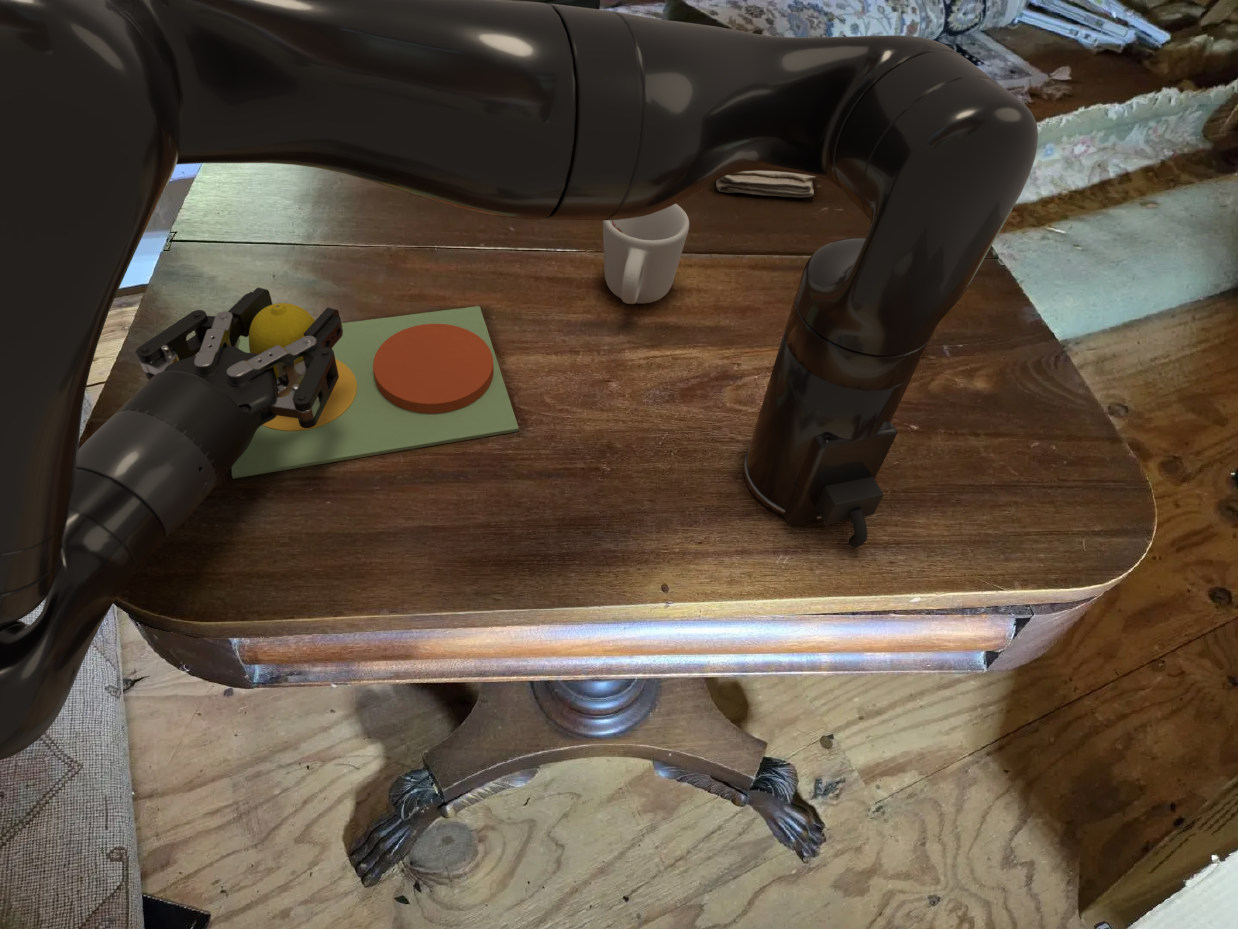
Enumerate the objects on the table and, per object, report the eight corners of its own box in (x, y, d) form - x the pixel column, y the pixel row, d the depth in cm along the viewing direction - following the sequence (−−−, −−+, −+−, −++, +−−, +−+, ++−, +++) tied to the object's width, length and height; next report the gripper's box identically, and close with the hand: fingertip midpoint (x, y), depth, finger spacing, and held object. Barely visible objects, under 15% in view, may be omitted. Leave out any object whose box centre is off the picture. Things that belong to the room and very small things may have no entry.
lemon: (341, 396, 69) (325, 319, 63) (271, 416, 67) (247, 337, 61) (321, 354, 72) (304, 276, 66) (254, 372, 70) (229, 293, 64)
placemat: (518, 431, 70) (518, 418, 69) (232, 478, 64) (227, 465, 63) (479, 309, 80) (479, 295, 78) (228, 340, 74) (223, 326, 73)
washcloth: (715, 196, 96) (719, 171, 93) (703, 118, 108) (707, 94, 105) (818, 204, 97) (826, 179, 94) (796, 125, 108) (802, 101, 106)
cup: (665, 339, 79) (677, 268, 73) (582, 322, 80) (587, 250, 74) (683, 271, 86) (695, 201, 80) (606, 256, 87) (612, 186, 81)
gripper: (244, 448, 52) (378, 291, 63) (42, 385, 54) (206, 243, 65) (271, 523, 57) (390, 367, 68) (87, 463, 59) (231, 320, 70)
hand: (300, 307), depth 67 cm, fingers closed on lemon, 5 cm apart
